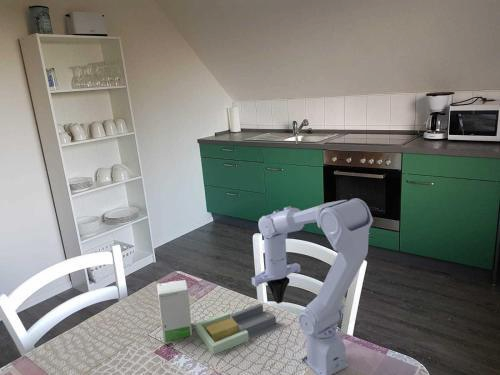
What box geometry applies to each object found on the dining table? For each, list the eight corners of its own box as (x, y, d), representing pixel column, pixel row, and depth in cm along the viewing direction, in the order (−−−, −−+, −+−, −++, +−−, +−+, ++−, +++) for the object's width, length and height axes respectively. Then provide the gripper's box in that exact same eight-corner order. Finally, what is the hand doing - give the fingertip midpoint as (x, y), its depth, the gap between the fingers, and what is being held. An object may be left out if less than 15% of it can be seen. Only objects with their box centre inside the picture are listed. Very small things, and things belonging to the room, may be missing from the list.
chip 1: (225, 338, 110) (224, 329, 109) (212, 344, 108) (211, 334, 107) (219, 331, 113) (218, 322, 112) (206, 336, 111) (205, 327, 110)
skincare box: (163, 345, 110) (156, 295, 106) (162, 331, 116) (155, 283, 112) (194, 338, 112) (188, 289, 108) (191, 325, 119) (185, 278, 114)
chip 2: (239, 334, 111) (238, 324, 110) (226, 339, 109) (225, 329, 109) (232, 326, 115) (231, 317, 114) (220, 331, 113) (219, 322, 112)
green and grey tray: (279, 331, 113) (279, 319, 112) (213, 358, 104) (212, 346, 103) (258, 311, 123) (257, 300, 122) (196, 334, 114) (195, 323, 113)
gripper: (289, 244, 114) (291, 287, 117) (244, 258, 107) (248, 303, 111) (304, 253, 108) (305, 298, 111) (258, 268, 101) (261, 315, 105)
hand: (278, 301), depth 111 cm, fingers closed
